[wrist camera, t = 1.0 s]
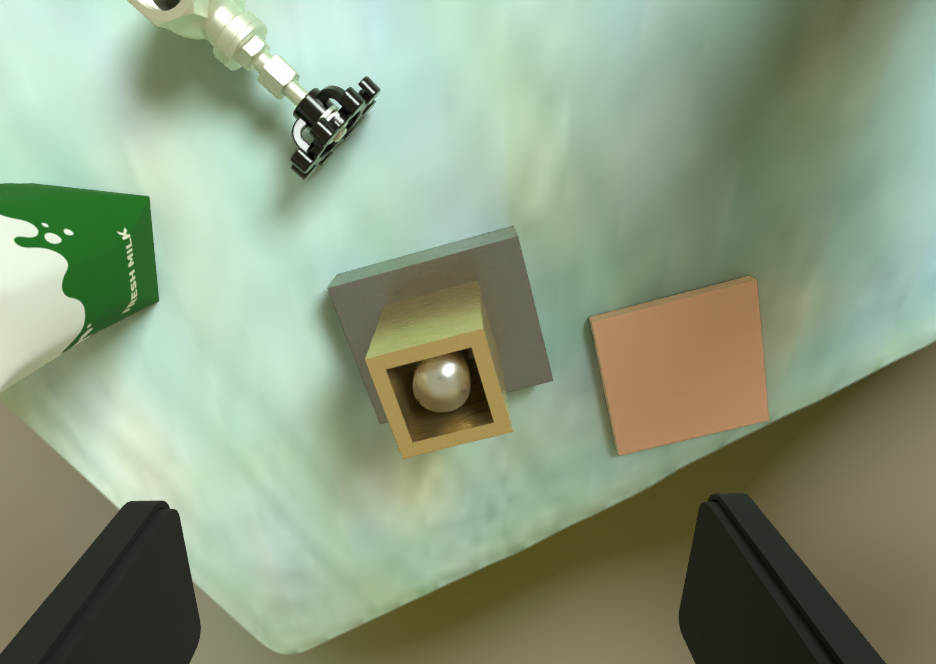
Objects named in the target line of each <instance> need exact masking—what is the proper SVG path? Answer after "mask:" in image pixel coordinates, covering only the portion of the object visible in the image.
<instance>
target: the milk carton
mask: <svg viewBox="0 0 936 664" xmlns="http://www.w3.org/2000/svg"><path fill="white" fill-rule="evenodd" d="M157 301H159V296H158V285H157V275H156V264H155V254H154V243H153V232H152V222H151V211H150V200H149V196H141V195H132V194H123V193H114V192H105V191H96V190H87V189H78V188H69V187H60V186H51V185H42V184H33V183H30V184H13V183H6V184H0V393H2V392H3V391H5V390H6V389H8V388H10V387H11V386H13V385H14V384H16V383H17V382H19V381H21V380H22V379H24V378H25V377H27V376H28V375H30V374H32V373H33V372H35V371H36V370H38V369H40V368H41V367H43V366H44V365H46V364H47V363H49V362H51V361H52V360H54V359H55V358H57V357H58V356H60V355H62V354H63V353H65V352H66V351H68V350H70V349H71V348H73V347H74V346H76V345H78V344H79V343H81V342H82V341H84V340H85V339H87V338H89V337H90V336H92V335H93V334H95V333H97V332H98V331H100V330H102V329H104V328H106V327H108V326H110V325H112V324H114V323H116V322H118V321H120V320H122V319H124V318H126V317H128V316H130V315H132V314H134V313H136V312H137V311H139V310H141V309H143V308H145V307H147V306H149V305H151V304H153V303H155V302H157Z"/></svg>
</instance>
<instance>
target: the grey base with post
mask: <svg viewBox="0 0 936 664" xmlns="http://www.w3.org/2000/svg"><path fill="white" fill-rule="evenodd" d="M477 280H478V282H479V286H480V290H481V293H482V297H483V300H484V304H485V307H486V311H487V315H488V318H489V322H490V325H491V329H492V332H493V336H494V340H495V343H496V347H497V350H498V354H499V357H500V361H501V365H502V370H503V376H504V382H505V388H506V393H507V392H511V391H515V390H519V389H523V388H527V387H530V386H534V385H538V384H542V383H546V382H550V381H553V378H552V373H551V369H550V365H549V361H548V357H547V353H546V349H545V345H544V341H543V337H542V333H541V329H540V324H539V320H538V316H537V312H536V308H535V304H534V300H533V296H532V292H531V288H530V284H529V279H528V275H527V271H526V267H525V263H524V259H523V255H522V251H521V247H520V243H519V239H518V235H517V233H516V231H515V229H514V226H511V227H508V228H504V229H500V230H497V231H493V232H490V233H486V234H482V235H479V236H475V237H471V238H468V239H464V240H461V241H457V242H453V243H450V244H446V245H442V246H439V247H435V248H432V249H428V250H424V251H421V252H417V253H414V254H410V255H406V256H403V257H399V258H395V259H392V260H388V261H385V262H381V263H377V264H374V265H370V266H366V267H363V268H359V269H356V270H352V271H348V272H345V273H341V274H337V276H336V277H335V279H334V280H333V281H332V283H331V284H330V286H329V287H328V290H329V293H330V296H331V298H332V301H333V303H334V306H335V309H336V311H337V314H338V316H339V319H340V321H341V324H342V327H343V329H344V332H345V334H346V337H347V340H348V342H349V345H350V347H351V350H352V352H353V355H354V358H355V360H356V363H357V365H358V368H359V371H360V373H361V376H362V378H363V381H364V383H365V386H366V389H367V391H368V394H369V396H370V399H371V402H372V404H373V407H374V409H375V412H376V414H377V417H378V420H379V422H380V424H383V423H387V422H388V419H387V416H386V414H385V411H384V408H383V406H382V403H381V400H380V398H379V395H378V393H377V390H376V387H375V385H374V382H373V379H372V377H371V374H370V372H369V369H368V366H367V364H366V361H365V358H366V355H367V352H368V349H369V347H370V344H371V341H372V339H373V336H374V333H375V330H376V328H377V325H378V322H379V319H380V317H381V314H382V311H383V308H384V306H385V305H388V304H392V303H395V302H399V301H403V300H406V299H410V298H414V297H418V296H421V295H425V294H429V293H432V292H436V291H440V290H444V289H447V288H451V287H455V286H458V285H462V284H466V283H470V282H473V281H477ZM473 361H475V357H474V354H473V350H472V347H471V348H467V349H463V350H459V351H455V352H451V353H447V354H444V355H440V356H436V357H432V358H428V359H424V360H420V361H417V362H416V368H415V374H414V380H413V392H414V395H415V398H416V399H417V401H418V402H419V403H420V404H421V405H422V406H423V407H425V408H426V409H428V410H431V411H434V412H441V413H443V412H450V411H453V410H455V409H457V408H459V407H460V406H461V405H463V404H464V403H465V401H466V400H467V398H468V396H469V393H470V368H469V362H473Z"/></svg>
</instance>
